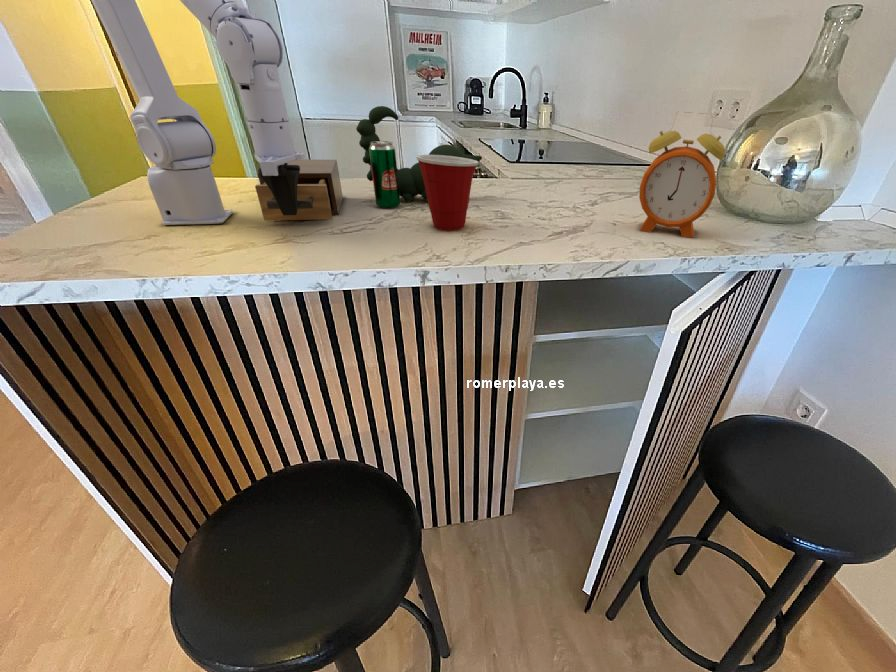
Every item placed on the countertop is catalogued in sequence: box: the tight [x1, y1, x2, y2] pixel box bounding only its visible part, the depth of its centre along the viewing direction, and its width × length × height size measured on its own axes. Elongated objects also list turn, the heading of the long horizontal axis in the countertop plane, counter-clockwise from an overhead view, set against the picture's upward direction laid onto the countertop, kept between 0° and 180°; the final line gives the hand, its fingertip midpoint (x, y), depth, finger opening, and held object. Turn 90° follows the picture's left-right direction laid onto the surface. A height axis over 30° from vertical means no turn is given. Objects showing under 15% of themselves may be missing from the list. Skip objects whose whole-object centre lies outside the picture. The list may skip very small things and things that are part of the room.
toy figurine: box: [355, 105, 483, 203], centre depth 95 cm, size 9×19×25 cm
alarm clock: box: [638, 111, 727, 239], centre depth 82 cm, size 13×6×20 cm, turn 70°
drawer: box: [254, 178, 333, 222], centre depth 83 cm, size 18×11×6 cm, turn 14°
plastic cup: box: [415, 154, 480, 232], centre depth 81 cm, size 11×11×12 cm
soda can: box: [369, 140, 401, 209], centre depth 91 cm, size 5×5×12 cm
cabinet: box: [256, 159, 344, 216], centre depth 90 cm, size 15×13×8 cm
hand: (290, 214), depth 75 cm, fingers closed
